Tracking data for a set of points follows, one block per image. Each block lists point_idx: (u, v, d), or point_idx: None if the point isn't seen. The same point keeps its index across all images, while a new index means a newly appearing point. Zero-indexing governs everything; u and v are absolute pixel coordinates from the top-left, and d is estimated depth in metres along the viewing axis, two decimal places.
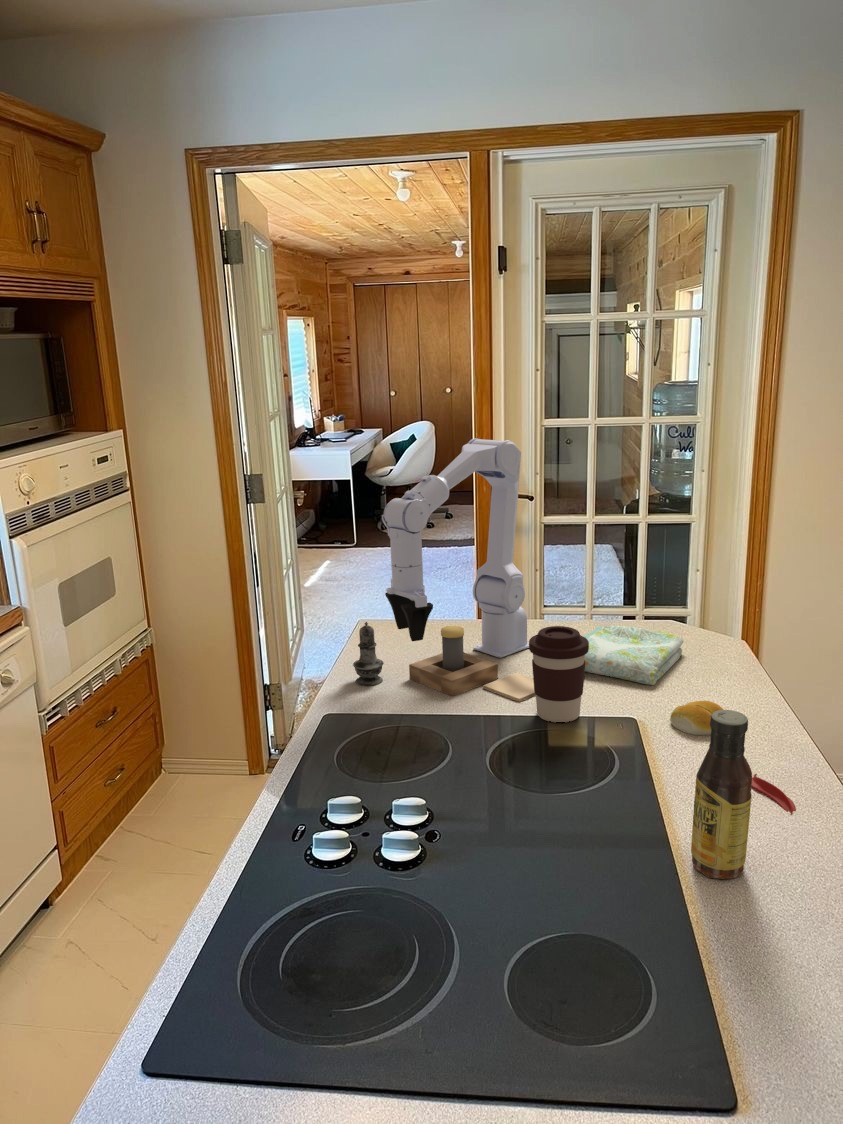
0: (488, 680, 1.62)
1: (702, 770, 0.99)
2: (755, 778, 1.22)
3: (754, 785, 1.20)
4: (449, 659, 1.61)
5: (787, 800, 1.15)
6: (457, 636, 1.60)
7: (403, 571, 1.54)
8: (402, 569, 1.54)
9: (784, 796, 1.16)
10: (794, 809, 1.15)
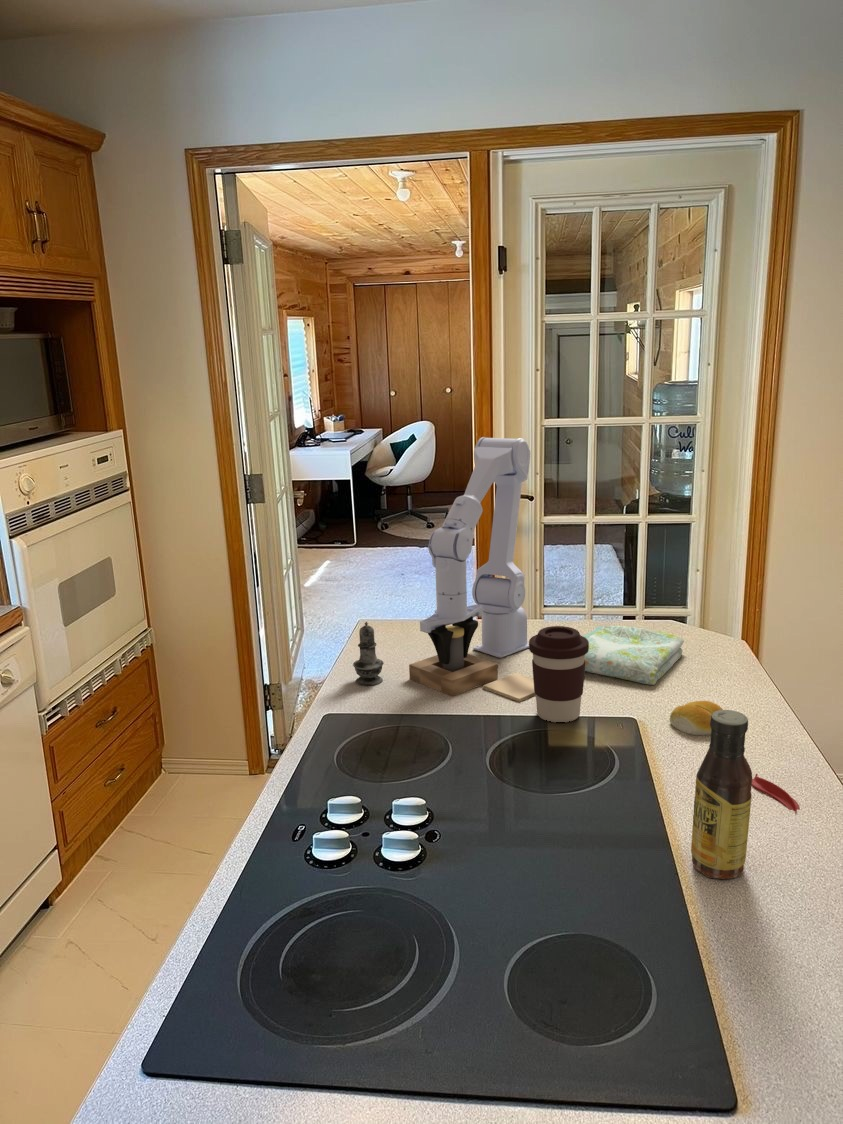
0: (488, 680, 1.62)
1: (702, 770, 0.99)
2: (757, 778, 1.22)
3: (756, 785, 1.20)
4: None
5: (791, 800, 1.16)
6: (457, 636, 1.60)
7: (436, 595, 1.60)
8: (436, 593, 1.60)
9: (787, 796, 1.16)
10: (798, 809, 1.15)
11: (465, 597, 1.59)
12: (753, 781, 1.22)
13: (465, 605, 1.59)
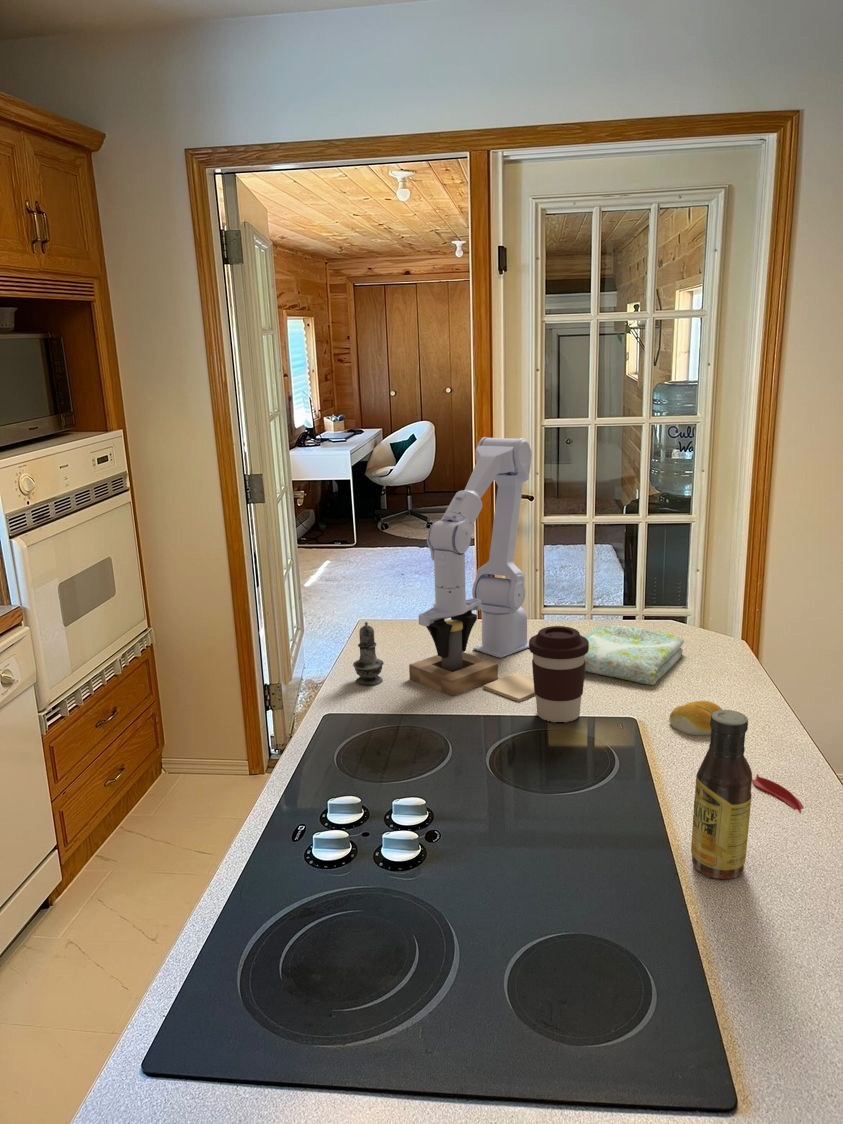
0: (488, 680, 1.62)
1: (702, 770, 0.99)
2: (759, 778, 1.22)
3: (759, 785, 1.20)
4: None
5: (794, 799, 1.16)
6: (456, 630, 1.60)
7: (435, 589, 1.59)
8: (435, 587, 1.59)
9: (791, 795, 1.16)
10: (802, 808, 1.15)
11: (464, 590, 1.59)
12: (755, 781, 1.22)
13: (464, 598, 1.59)
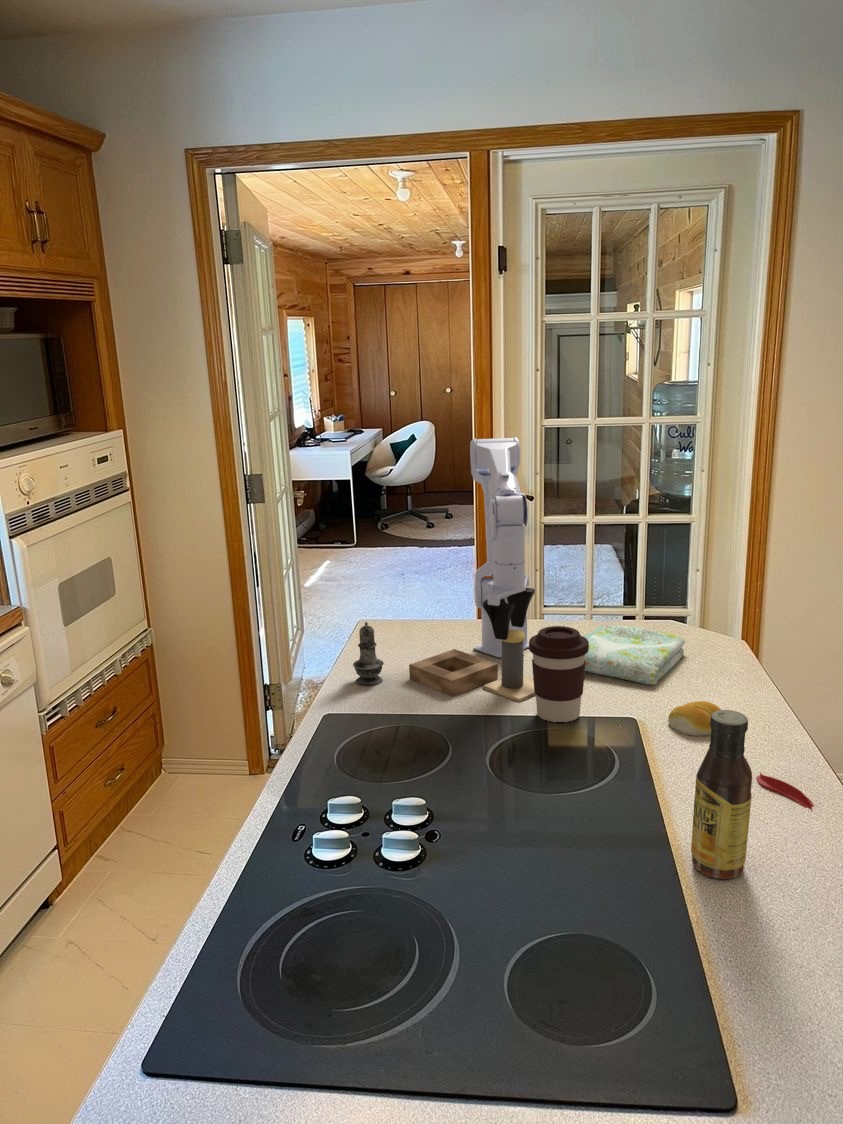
0: (488, 680, 1.62)
1: (702, 770, 0.99)
2: (764, 777, 1.22)
3: (765, 784, 1.21)
4: (513, 665, 1.56)
5: (804, 797, 1.16)
6: (522, 640, 1.55)
7: (495, 567, 1.54)
8: (495, 565, 1.54)
9: (800, 793, 1.17)
10: (812, 805, 1.15)
11: (524, 566, 1.55)
12: (760, 780, 1.22)
13: (524, 574, 1.55)
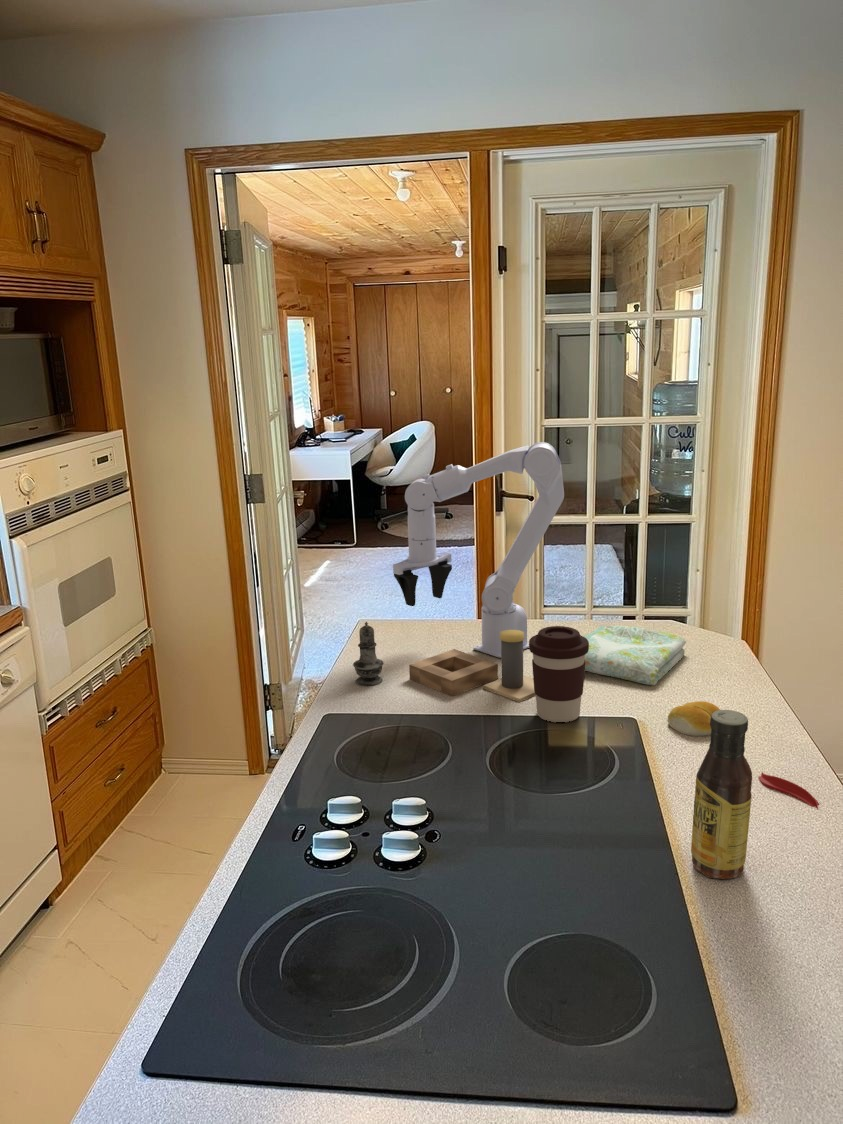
0: (488, 680, 1.62)
1: (702, 770, 0.99)
2: (767, 776, 1.22)
3: (769, 784, 1.21)
4: (513, 665, 1.56)
5: (809, 795, 1.16)
6: (521, 639, 1.55)
7: (408, 542, 1.76)
8: (408, 540, 1.76)
9: (804, 791, 1.17)
10: (817, 803, 1.16)
11: (434, 543, 1.75)
12: (763, 780, 1.22)
13: (434, 550, 1.75)
